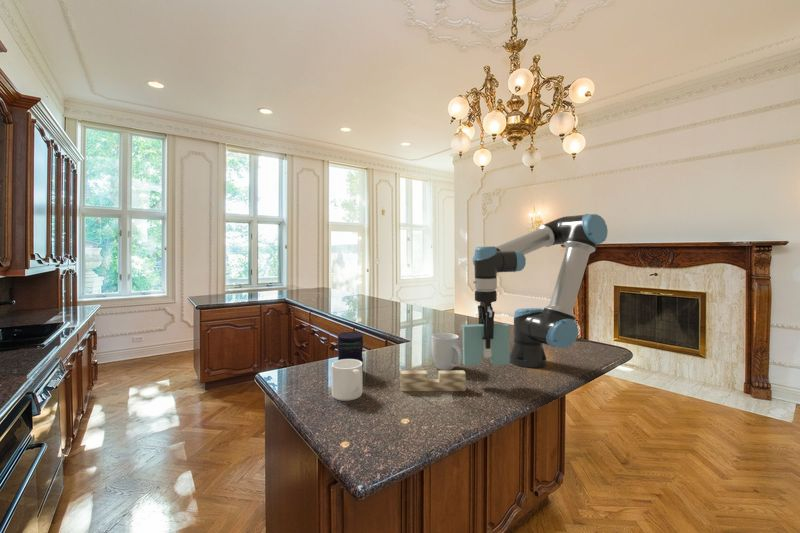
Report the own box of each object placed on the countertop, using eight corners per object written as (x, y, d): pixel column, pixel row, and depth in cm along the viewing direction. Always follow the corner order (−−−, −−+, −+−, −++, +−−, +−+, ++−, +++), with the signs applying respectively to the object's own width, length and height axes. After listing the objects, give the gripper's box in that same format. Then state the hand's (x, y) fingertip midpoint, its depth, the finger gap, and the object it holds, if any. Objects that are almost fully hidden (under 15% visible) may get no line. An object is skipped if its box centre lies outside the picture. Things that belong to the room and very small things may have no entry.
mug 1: (326, 392, 117) (326, 362, 117) (353, 386, 123) (353, 357, 123) (343, 406, 107) (343, 373, 107) (372, 398, 113) (372, 367, 112)
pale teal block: (506, 361, 128) (506, 323, 127) (509, 364, 125) (509, 325, 124) (462, 363, 127) (462, 324, 127) (464, 365, 124) (464, 326, 124)
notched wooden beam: (463, 387, 122) (464, 370, 122) (465, 390, 119) (465, 373, 119) (400, 387, 122) (400, 370, 122) (400, 391, 119) (400, 373, 119)
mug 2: (471, 372, 138) (471, 339, 137) (449, 377, 132) (450, 343, 131) (446, 361, 150) (446, 331, 150) (425, 366, 144) (425, 334, 144)
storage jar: (368, 373, 136) (368, 334, 136) (348, 379, 129) (348, 339, 128) (352, 367, 143) (352, 330, 142) (332, 373, 136) (332, 334, 135)
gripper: (470, 287, 132) (470, 349, 134) (480, 293, 116) (481, 363, 118) (489, 287, 133) (490, 348, 134) (503, 292, 117) (503, 362, 118)
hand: (485, 355), depth 126 cm, fingers closed on pale teal block, 3 cm apart
